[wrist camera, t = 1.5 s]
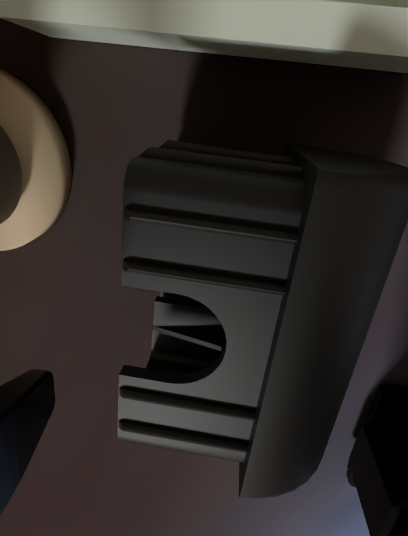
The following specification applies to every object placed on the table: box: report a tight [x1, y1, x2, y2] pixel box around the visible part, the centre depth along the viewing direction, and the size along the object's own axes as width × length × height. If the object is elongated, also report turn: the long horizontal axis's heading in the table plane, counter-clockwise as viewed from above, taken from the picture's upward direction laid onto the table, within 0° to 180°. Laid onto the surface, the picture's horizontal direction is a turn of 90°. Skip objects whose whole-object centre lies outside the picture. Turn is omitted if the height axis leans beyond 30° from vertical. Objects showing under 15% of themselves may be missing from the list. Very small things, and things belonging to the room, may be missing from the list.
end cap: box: [118, 140, 408, 499], centre depth 12 cm, size 10×7×7 cm
